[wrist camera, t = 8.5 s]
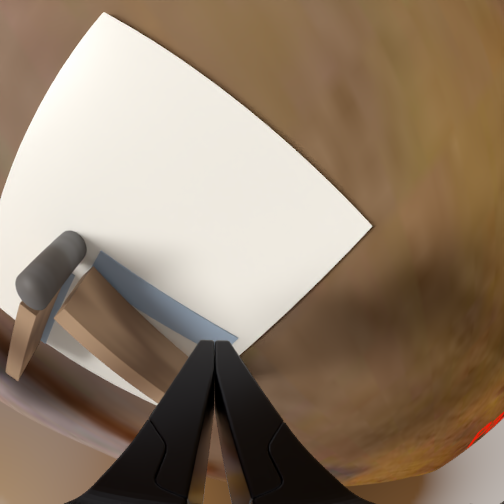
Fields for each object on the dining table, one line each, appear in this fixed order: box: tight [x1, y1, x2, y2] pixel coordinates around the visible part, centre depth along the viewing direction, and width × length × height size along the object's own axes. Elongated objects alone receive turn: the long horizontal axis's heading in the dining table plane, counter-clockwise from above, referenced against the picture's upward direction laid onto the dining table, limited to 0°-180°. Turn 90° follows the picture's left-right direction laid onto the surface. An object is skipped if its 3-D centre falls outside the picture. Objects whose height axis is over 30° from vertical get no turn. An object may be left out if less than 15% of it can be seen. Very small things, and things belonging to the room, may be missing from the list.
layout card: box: [0, 12, 372, 405], centre depth 14 cm, size 19×17×1 cm
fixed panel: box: [6, 230, 87, 381], centre depth 13 cm, size 9×2×5 cm, turn 139°
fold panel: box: [54, 266, 188, 403], centre depth 14 cm, size 9×1×4 cm, turn 34°
